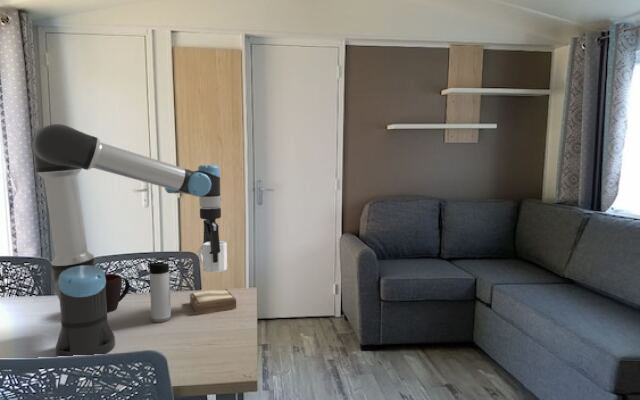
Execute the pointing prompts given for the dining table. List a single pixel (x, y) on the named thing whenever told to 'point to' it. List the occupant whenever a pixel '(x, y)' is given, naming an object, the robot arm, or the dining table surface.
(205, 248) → the mug
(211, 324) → the dining table surface
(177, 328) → the dining table surface
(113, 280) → the mug
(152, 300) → the travel mug
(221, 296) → the pedestal
